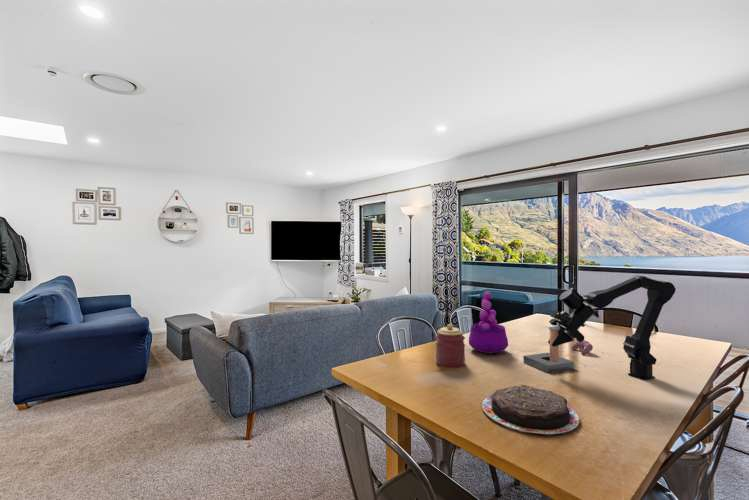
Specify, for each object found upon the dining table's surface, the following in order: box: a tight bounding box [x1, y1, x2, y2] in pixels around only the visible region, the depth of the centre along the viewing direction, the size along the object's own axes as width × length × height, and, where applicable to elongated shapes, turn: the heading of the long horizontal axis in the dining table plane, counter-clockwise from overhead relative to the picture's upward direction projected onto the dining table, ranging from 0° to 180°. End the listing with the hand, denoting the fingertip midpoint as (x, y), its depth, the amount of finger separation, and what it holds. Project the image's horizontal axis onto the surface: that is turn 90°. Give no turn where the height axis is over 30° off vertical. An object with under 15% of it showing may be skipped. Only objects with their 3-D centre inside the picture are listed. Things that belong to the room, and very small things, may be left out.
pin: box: [547, 324, 560, 362], centre depth 141 cm, size 4×4×14 cm
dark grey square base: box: [523, 352, 575, 374], centre depth 153 cm, size 14×14×3 cm
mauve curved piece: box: [571, 339, 594, 356], centre depth 172 cm, size 10×5×7 cm, turn 0°
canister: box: [434, 323, 466, 368], centre depth 158 cm, size 13×13×18 cm
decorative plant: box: [468, 290, 509, 354], centre depth 175 cm, size 19×18×30 cm
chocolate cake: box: [481, 384, 581, 437], centre depth 110 cm, size 28×28×7 cm
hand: (550, 344), depth 142 cm, fingers closed on pin, 3 cm apart
